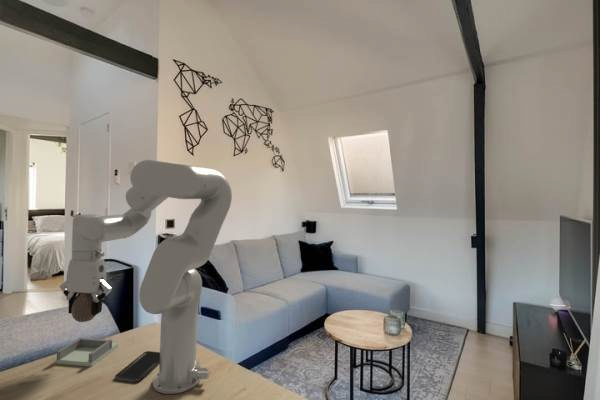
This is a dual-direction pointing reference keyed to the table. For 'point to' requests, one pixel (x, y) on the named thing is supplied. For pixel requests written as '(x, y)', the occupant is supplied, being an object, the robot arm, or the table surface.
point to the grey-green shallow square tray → (85, 351)
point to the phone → (139, 367)
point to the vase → (83, 308)
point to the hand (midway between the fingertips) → (85, 312)
